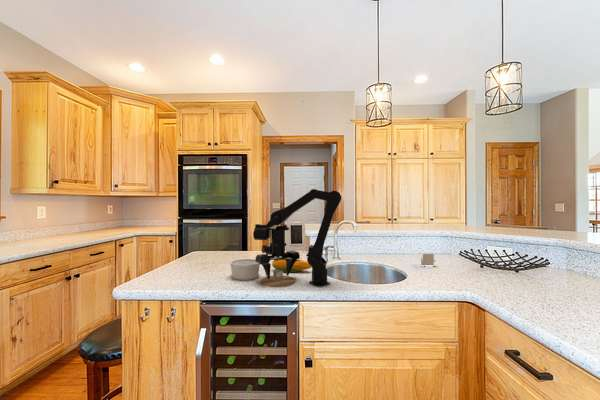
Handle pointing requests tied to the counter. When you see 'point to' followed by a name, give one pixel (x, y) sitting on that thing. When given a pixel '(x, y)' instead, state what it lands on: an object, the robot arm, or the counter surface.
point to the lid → (278, 280)
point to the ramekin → (244, 269)
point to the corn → (298, 265)
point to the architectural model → (427, 259)
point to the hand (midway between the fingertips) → (278, 277)
